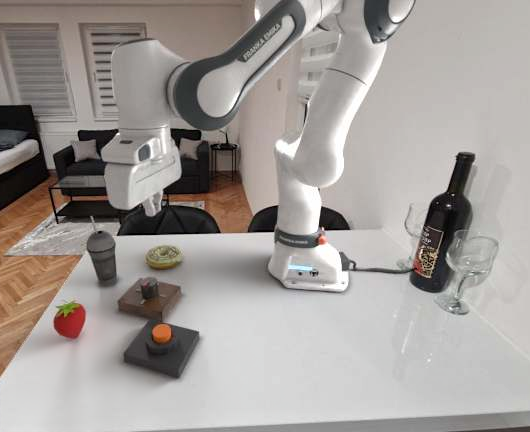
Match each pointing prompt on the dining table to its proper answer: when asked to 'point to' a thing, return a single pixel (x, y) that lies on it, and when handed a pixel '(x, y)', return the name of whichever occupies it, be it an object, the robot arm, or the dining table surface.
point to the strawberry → (69, 319)
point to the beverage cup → (103, 256)
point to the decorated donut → (163, 256)
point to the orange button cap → (161, 333)
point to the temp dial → (149, 287)
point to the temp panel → (150, 301)
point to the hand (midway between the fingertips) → (153, 213)
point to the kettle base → (162, 349)
